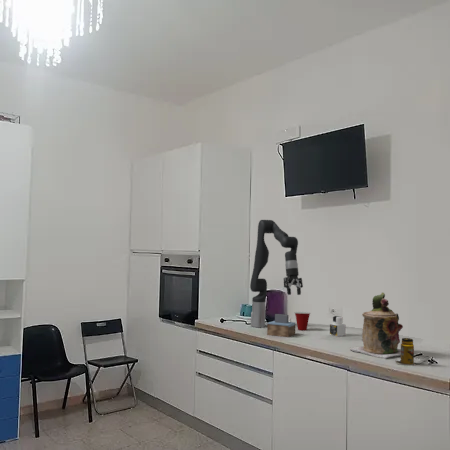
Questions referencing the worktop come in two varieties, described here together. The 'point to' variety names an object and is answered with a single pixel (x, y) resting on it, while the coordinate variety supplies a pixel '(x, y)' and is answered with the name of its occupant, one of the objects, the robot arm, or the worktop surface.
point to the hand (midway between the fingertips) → (294, 294)
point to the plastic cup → (302, 320)
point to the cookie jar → (380, 330)
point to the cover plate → (282, 320)
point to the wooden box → (280, 330)
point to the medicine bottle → (337, 326)
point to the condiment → (407, 352)
